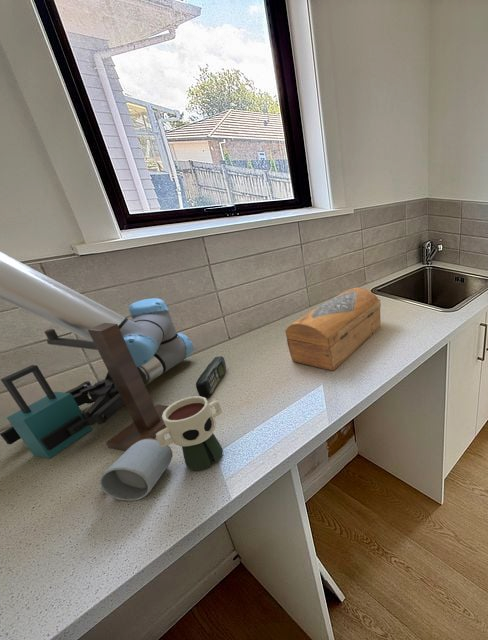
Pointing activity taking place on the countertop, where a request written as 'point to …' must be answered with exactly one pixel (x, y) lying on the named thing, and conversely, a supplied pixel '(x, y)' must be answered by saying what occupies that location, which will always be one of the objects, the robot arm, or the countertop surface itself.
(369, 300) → the wooden box
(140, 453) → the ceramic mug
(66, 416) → the teal handbag
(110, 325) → the hook stand
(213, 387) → the mobile phone
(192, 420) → the character mug
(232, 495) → the countertop surface
